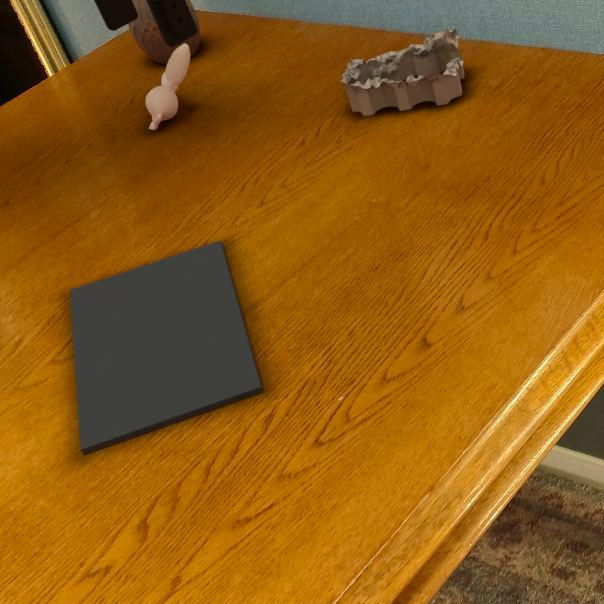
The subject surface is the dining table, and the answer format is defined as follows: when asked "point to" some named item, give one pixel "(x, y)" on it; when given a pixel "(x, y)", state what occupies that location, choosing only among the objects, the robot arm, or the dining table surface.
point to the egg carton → (407, 76)
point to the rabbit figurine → (168, 87)
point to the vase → (158, 33)
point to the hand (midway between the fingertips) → (152, 32)
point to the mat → (159, 347)
